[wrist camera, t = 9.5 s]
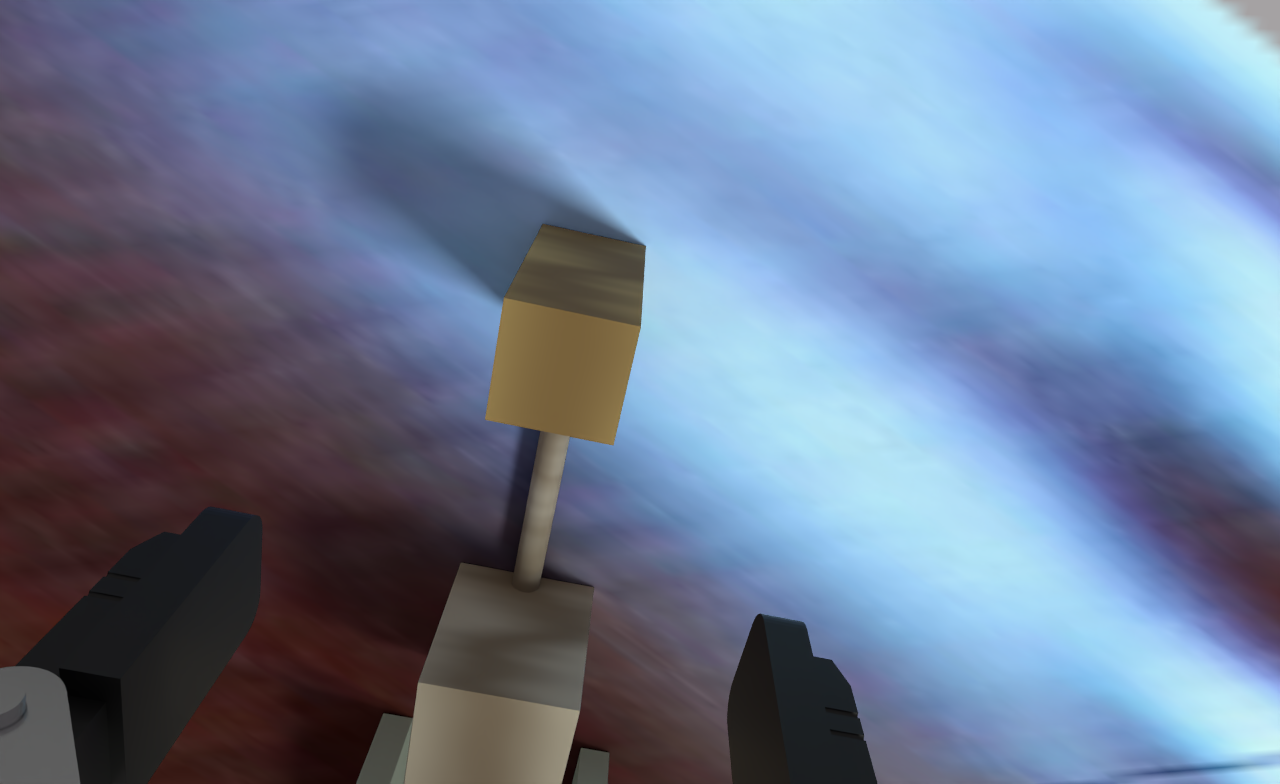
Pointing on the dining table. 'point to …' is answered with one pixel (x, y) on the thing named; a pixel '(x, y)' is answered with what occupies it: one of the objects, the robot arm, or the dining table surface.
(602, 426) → the tethered block
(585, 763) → the u-shaped sage bracket
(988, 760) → the dining table surface
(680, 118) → the dining table surface
